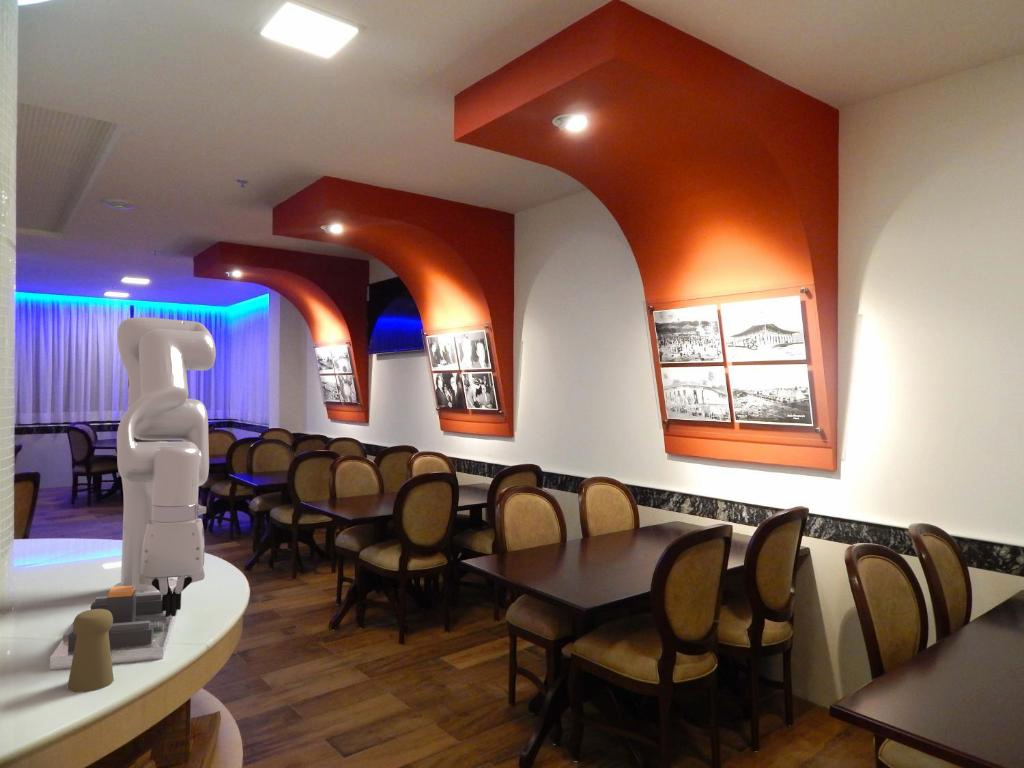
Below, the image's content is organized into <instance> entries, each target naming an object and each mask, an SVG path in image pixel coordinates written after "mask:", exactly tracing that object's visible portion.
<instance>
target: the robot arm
mask: <svg viewBox="0 0 1024 768" xmlns="http://www.w3.org/2000/svg"><path fill="white" fill-rule="evenodd" d="M117 347H118V351H119V355H120V359H121V361H122V364H123V366H124V368H125V372H126V375H127V378H128V379H127V380H128V409H127V410H126V411H125V413H124V414H123V416H122V418H121V420H120V422H119V424H118V427H117V433H116V456H117V457H116V459H117V461H116V462H117V470H118V471H117V472H118V474H119V476H120V477H121V483H122V492H123V493H122V494H123V496H122V497H123V514H122V515H123V519H122V522H123V523H122V545H121V546H122V547H121V571H120V572H121V573H120V581H119V583H116V584H114V585H113V586H112V587H119V586H135V590H136V594H148V593H161V594H162V611H166V614H165V617H169V616H170V614H171V616H175V615H176V612H178V611H179V610H181V607H182V592H183V591H184V590H185V589H186V588H187V587H188V586H189V585H191V584H193V583H197V582H201V581H203V580H205V577H206V575H205V571H204V565H205V534H204V533H205V532H204V524H203V519H202V518H199V516H200V515H203V514H206V513H207V506H204V505H200V504H199V487H201V486H203V485H204V484H205V483H206V482H207V481H208V477H209V470H210V455H209V454H210V453H209V449H210V447H209V445H210V444H209V417H208V411H207V409H206V406H205V404H204V403H203V402H202V401H201V400H199V399H194V398H189V385H188V375H187V374H188V373H187V371H209V370H210V369H212V367H213V366H214V365H215V361H216V357H217V354H216V353H217V351H216V350H217V349H216V344H215V340H214V338H213V336H212V334H211V332H210V330H208V329H207V328H206V326H205V325H204V324H203V323H201V322H198V321H192V320H182V319H168V318H160V317H159V318H158V317H130V318H126V319H124V320H122V321H121V322H120V324H118V328H117ZM136 440H140V441H136ZM176 578H177V579H176Z"/></svg>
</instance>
